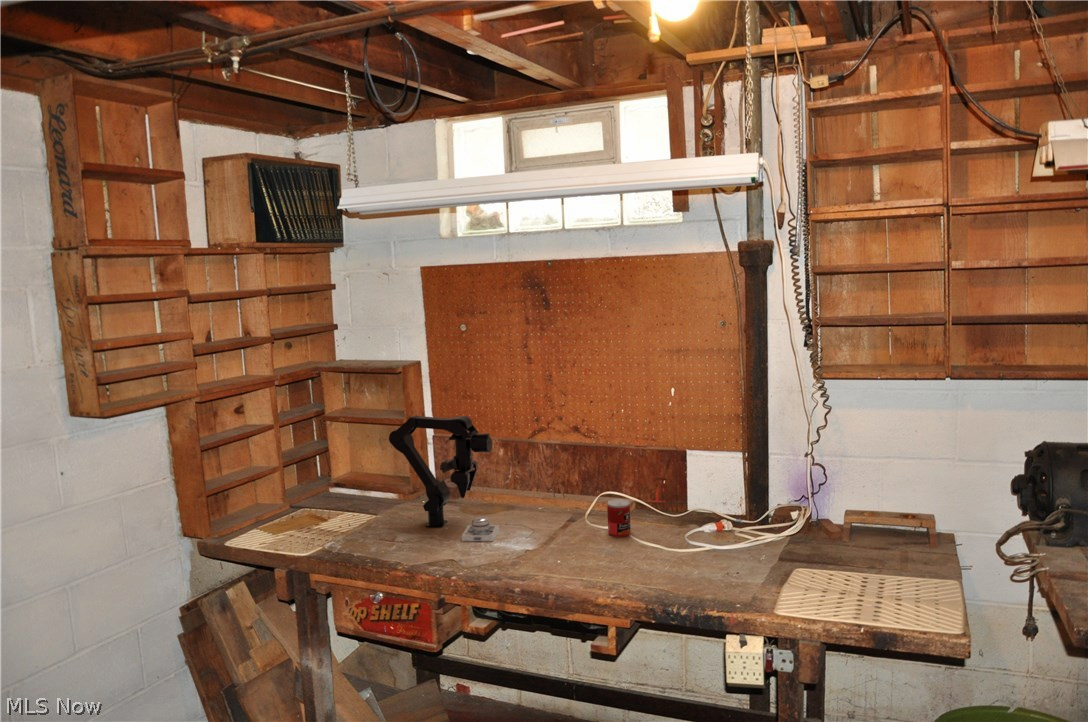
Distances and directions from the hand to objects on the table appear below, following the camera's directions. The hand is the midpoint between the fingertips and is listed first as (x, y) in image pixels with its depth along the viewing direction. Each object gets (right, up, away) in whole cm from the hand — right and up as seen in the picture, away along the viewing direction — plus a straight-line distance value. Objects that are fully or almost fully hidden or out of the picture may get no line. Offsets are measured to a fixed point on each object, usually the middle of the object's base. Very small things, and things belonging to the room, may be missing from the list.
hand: (465, 494), depth 287 cm
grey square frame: (+6, -13, -9) cm, 17 cm away
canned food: (+54, -12, -12) cm, 57 cm away
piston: (+6, -13, -9) cm, 17 cm away
